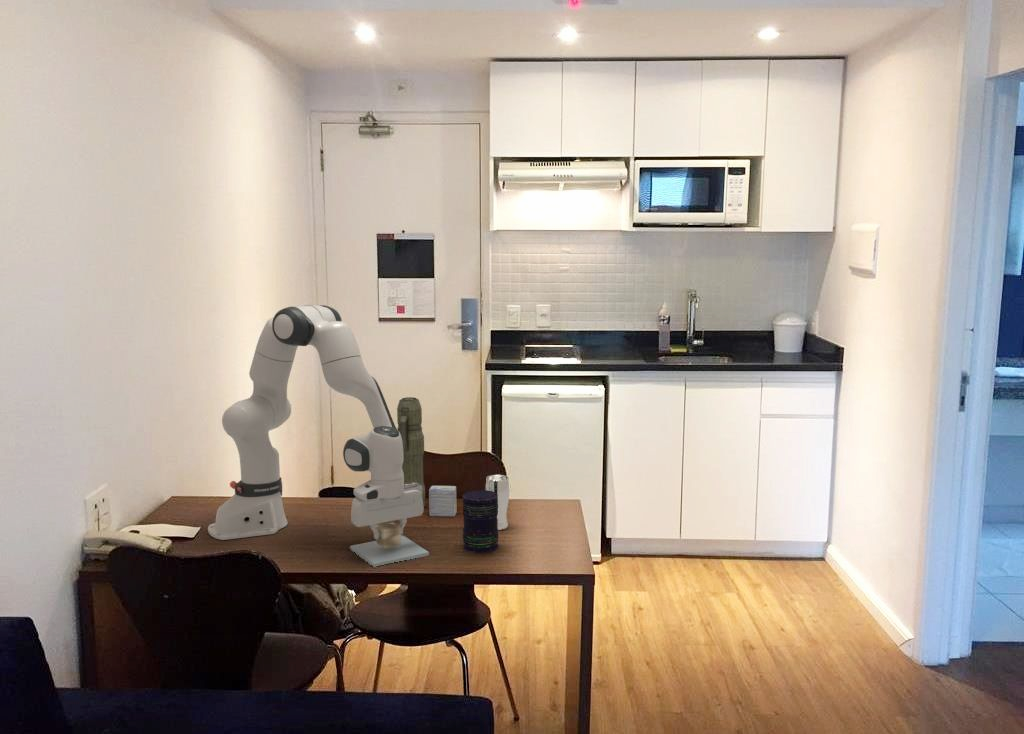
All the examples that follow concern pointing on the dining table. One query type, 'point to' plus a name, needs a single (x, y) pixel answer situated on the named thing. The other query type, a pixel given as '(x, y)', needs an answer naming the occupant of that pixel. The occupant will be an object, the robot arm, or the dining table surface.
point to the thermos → (412, 440)
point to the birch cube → (389, 535)
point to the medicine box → (442, 501)
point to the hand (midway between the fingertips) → (388, 536)
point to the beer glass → (500, 497)
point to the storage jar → (480, 521)
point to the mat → (388, 552)
